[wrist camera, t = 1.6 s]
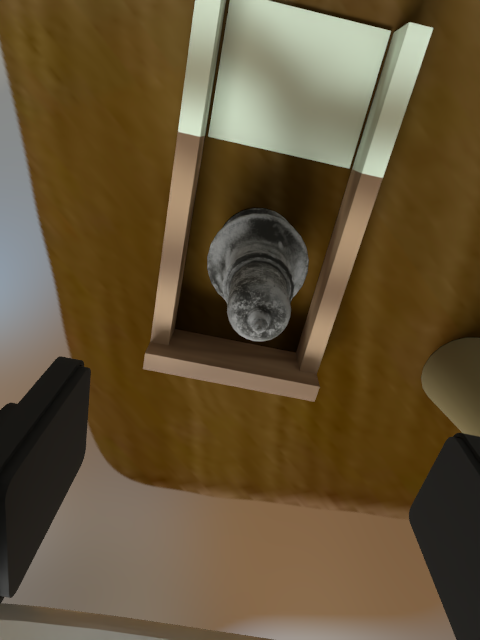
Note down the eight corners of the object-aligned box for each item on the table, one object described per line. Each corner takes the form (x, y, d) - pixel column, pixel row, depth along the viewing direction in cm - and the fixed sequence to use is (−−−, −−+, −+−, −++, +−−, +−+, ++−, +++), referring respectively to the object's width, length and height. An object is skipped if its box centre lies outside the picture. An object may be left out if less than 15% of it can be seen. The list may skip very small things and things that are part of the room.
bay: (205, -15, 22) (195, -43, 18) (415, 37, 22) (446, 20, 19) (156, 339, 30) (143, 369, 27) (307, 369, 31) (314, 401, 28)
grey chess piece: (231, 301, 29) (218, 407, 18) (198, 222, 27) (160, 288, 16) (313, 274, 28) (350, 368, 17) (285, 188, 26) (309, 235, 15)
